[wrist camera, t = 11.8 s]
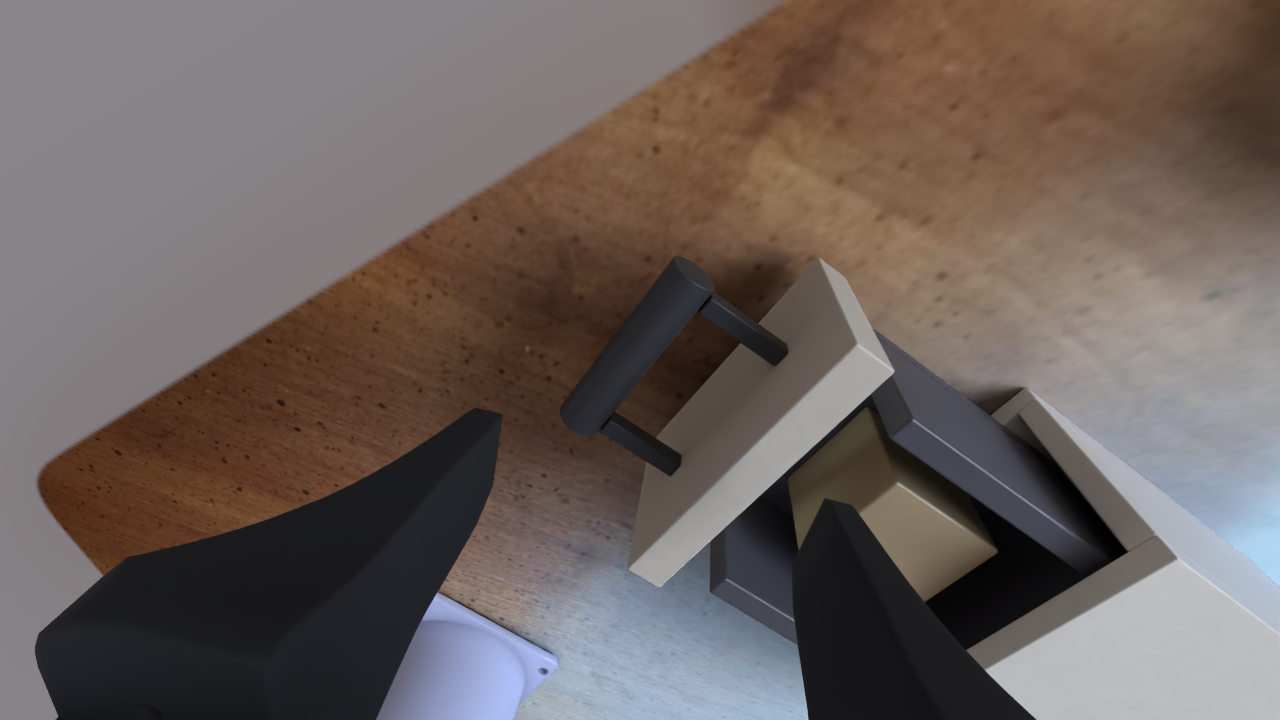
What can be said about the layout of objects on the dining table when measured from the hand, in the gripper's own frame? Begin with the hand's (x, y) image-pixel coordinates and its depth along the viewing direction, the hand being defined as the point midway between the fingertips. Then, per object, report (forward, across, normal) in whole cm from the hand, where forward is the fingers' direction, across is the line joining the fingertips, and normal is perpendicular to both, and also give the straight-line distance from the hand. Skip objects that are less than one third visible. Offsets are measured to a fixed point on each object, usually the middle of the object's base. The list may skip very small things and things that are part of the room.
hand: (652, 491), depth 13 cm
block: (+8, -8, +3) cm, 11 cm away
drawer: (+9, -5, +2) cm, 10 cm away
